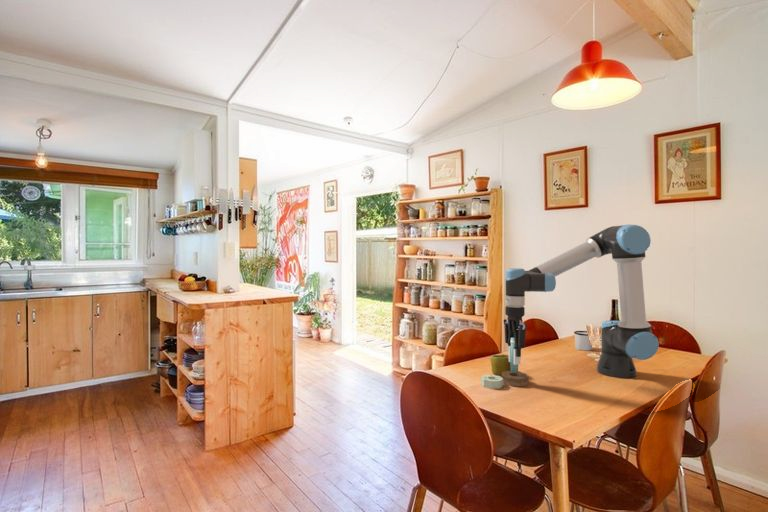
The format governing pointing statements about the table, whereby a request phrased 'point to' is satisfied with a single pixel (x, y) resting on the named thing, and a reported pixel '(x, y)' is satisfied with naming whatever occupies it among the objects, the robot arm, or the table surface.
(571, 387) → the table surface
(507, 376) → the brown ring
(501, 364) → the mug
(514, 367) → the teal cylinder
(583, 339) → the mug
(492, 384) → the bead
